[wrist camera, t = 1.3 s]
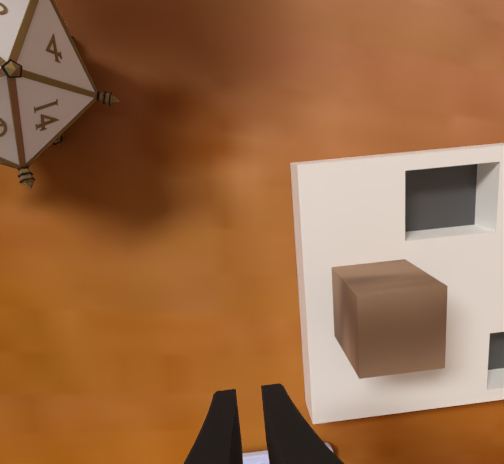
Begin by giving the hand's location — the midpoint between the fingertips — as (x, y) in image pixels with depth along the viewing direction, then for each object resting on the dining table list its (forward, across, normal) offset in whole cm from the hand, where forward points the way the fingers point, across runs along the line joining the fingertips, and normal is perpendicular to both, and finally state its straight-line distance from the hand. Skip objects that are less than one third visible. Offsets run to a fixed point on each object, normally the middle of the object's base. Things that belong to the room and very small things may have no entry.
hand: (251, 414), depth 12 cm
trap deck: (+10, -13, +1) cm, 17 cm away
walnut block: (+8, -7, 0) cm, 11 cm away
